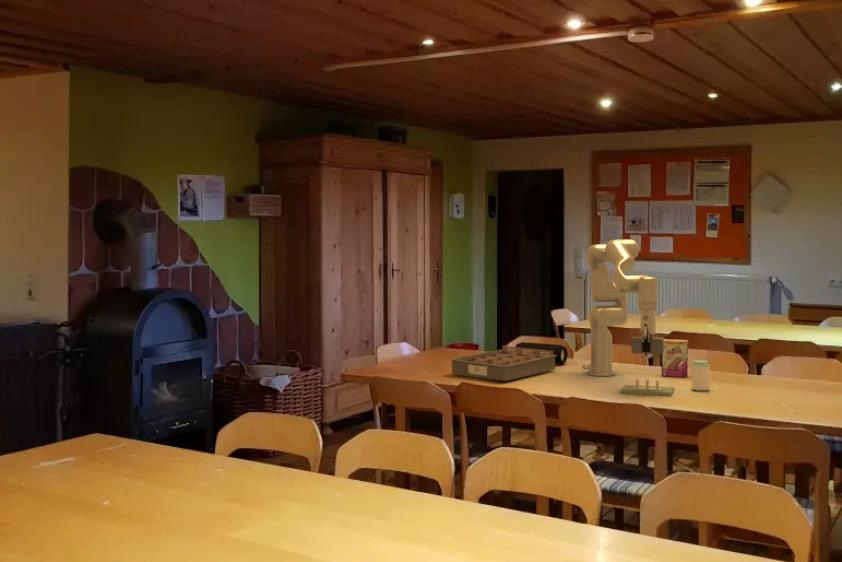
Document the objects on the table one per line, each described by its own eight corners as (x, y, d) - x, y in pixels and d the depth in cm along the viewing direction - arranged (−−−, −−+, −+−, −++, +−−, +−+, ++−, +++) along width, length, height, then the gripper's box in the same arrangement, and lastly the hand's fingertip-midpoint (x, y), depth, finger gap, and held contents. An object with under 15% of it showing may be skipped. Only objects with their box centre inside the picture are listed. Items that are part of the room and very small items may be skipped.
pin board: (620, 393, 348) (620, 381, 348) (624, 388, 360) (624, 376, 359) (671, 396, 341) (671, 384, 341) (674, 390, 352) (674, 378, 352)
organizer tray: (449, 376, 394) (449, 355, 394) (503, 365, 423) (503, 345, 423) (505, 384, 373) (504, 362, 372) (557, 372, 402) (557, 351, 401)
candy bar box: (661, 376, 384) (661, 340, 383) (662, 374, 389) (662, 339, 388) (687, 377, 380) (687, 341, 379) (688, 375, 385) (688, 339, 384)
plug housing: (631, 352, 349) (631, 338, 348) (633, 350, 354) (633, 336, 354) (661, 354, 344) (661, 339, 344) (663, 352, 350) (663, 337, 349)
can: (712, 391, 350) (712, 362, 349) (695, 391, 349) (695, 362, 348) (705, 388, 357) (705, 359, 356) (688, 388, 356) (688, 360, 355)
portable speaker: (513, 362, 430) (513, 343, 429) (522, 360, 438) (522, 340, 437) (560, 366, 415) (559, 346, 415) (568, 363, 424) (568, 343, 423)
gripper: (654, 309, 339) (654, 354, 340) (659, 305, 354) (659, 348, 356) (634, 308, 341) (634, 353, 343) (640, 304, 357) (640, 347, 359)
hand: (647, 350), depth 349 cm, fingers closed on plug housing, 6 cm apart
